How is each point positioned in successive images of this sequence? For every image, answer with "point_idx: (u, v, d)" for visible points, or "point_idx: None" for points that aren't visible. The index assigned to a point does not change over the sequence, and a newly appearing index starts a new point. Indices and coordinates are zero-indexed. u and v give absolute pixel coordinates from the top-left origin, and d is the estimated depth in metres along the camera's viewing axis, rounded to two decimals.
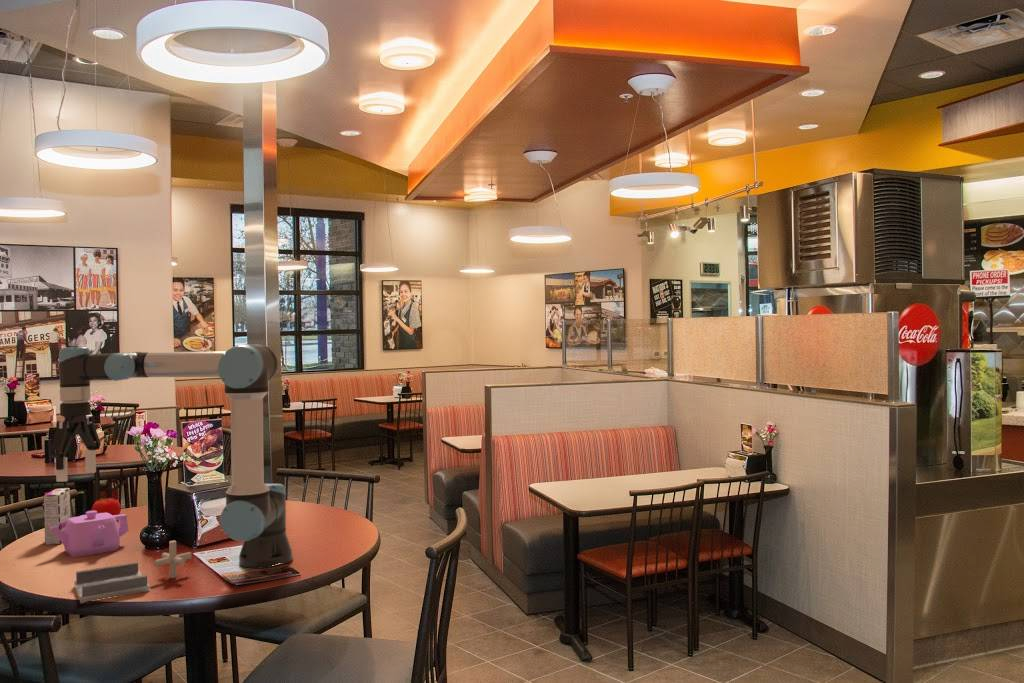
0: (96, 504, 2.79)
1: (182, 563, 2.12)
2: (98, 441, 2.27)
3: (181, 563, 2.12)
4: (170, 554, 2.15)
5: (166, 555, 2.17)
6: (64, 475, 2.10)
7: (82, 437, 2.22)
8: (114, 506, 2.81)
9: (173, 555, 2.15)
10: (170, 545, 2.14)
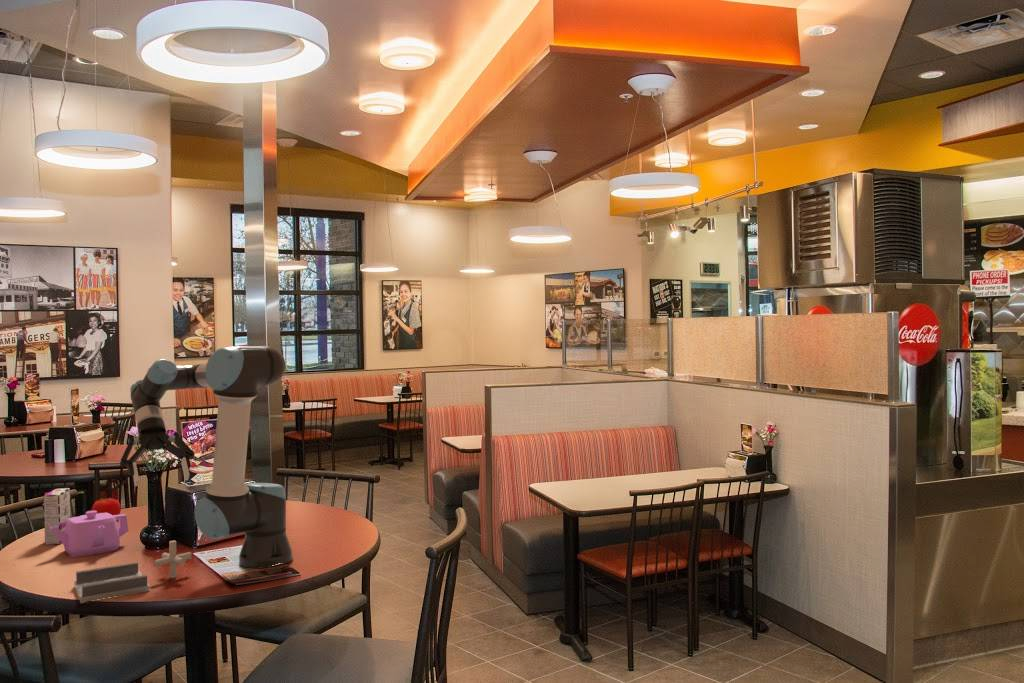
0: (96, 504, 2.79)
1: (182, 563, 2.12)
2: (190, 451, 2.33)
3: (181, 563, 2.12)
4: (170, 554, 2.15)
5: (166, 555, 2.17)
6: (135, 476, 2.19)
7: (170, 451, 2.32)
8: (114, 506, 2.81)
9: (173, 555, 2.15)
10: (170, 545, 2.14)
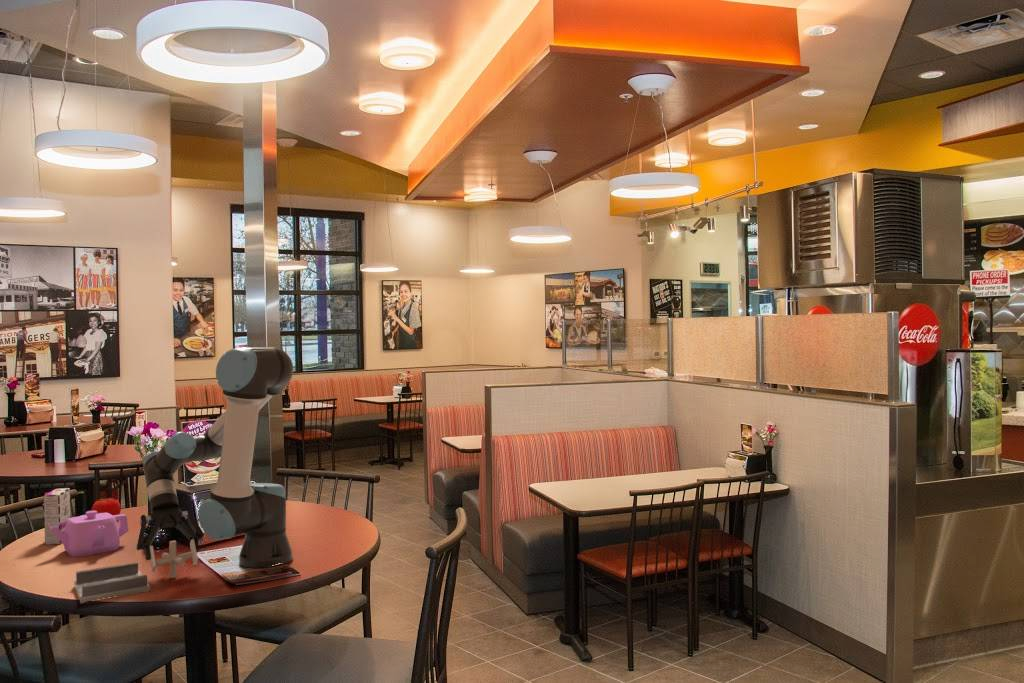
0: (96, 504, 2.79)
1: (182, 563, 2.12)
2: (200, 531, 2.22)
3: (181, 563, 2.12)
4: (170, 554, 2.15)
5: (166, 555, 2.17)
6: (152, 562, 2.10)
7: (181, 530, 2.22)
8: (114, 506, 2.81)
9: (173, 555, 2.15)
10: (170, 545, 2.14)
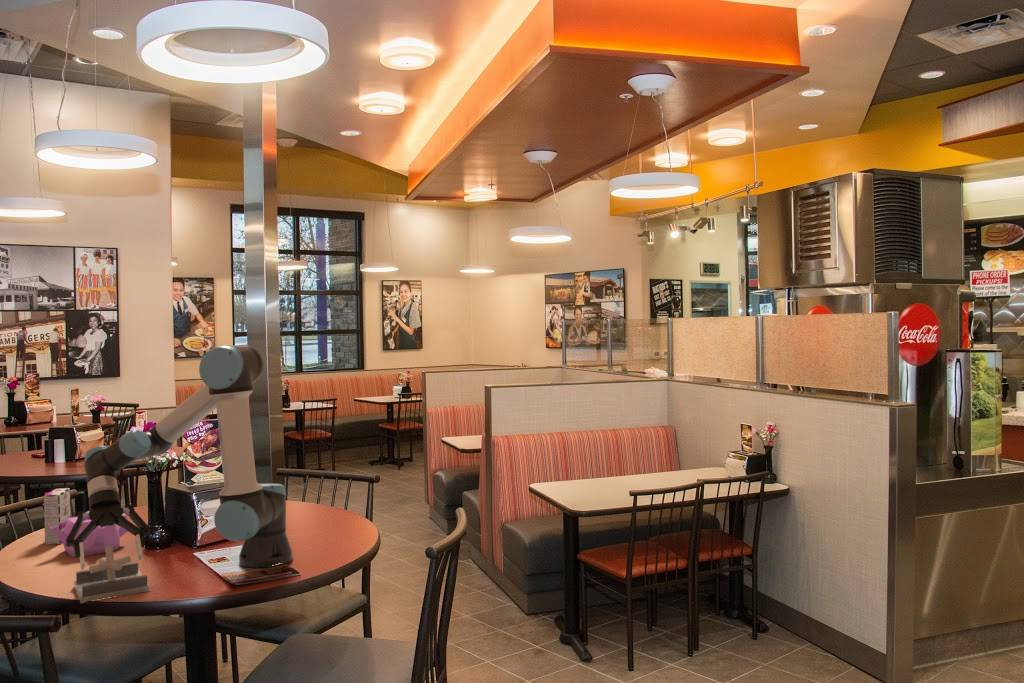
0: None
1: (119, 568, 2.03)
2: (145, 526, 2.13)
3: (118, 568, 2.02)
4: (107, 559, 2.05)
5: (103, 560, 2.07)
6: (81, 559, 2.00)
7: (124, 527, 2.13)
8: None
9: (110, 560, 2.05)
10: (106, 550, 2.05)
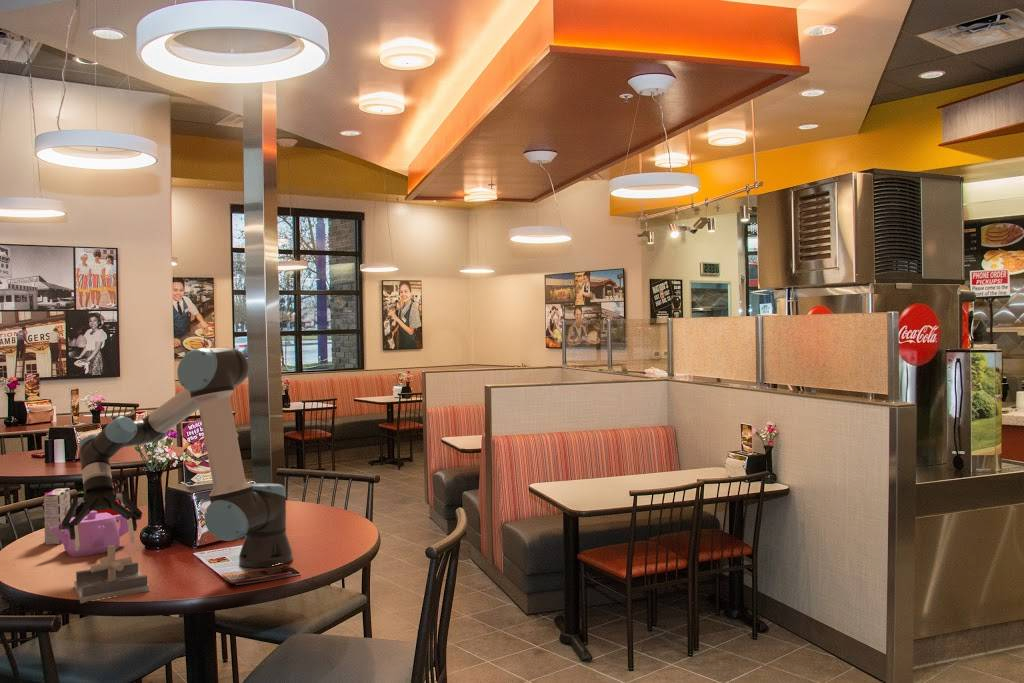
0: None
1: (120, 569, 2.03)
2: (137, 511, 2.23)
3: (119, 569, 2.03)
4: (108, 559, 2.05)
5: (105, 560, 2.07)
6: (75, 541, 2.10)
7: (117, 511, 2.23)
8: None
9: (112, 560, 2.05)
10: (108, 550, 2.05)
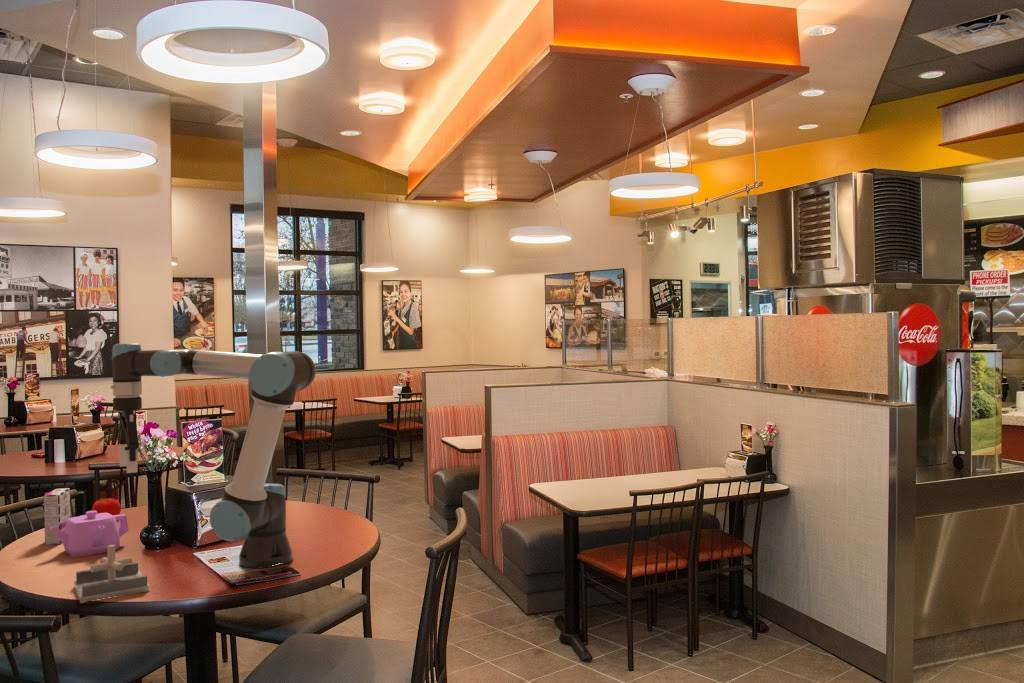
0: (96, 504, 2.79)
1: (120, 568, 2.03)
2: None
3: (119, 568, 2.03)
4: (108, 559, 2.05)
5: (105, 560, 2.07)
6: (135, 466, 2.19)
7: (123, 431, 2.27)
8: (114, 506, 2.81)
9: (111, 560, 2.05)
10: (108, 550, 2.05)
